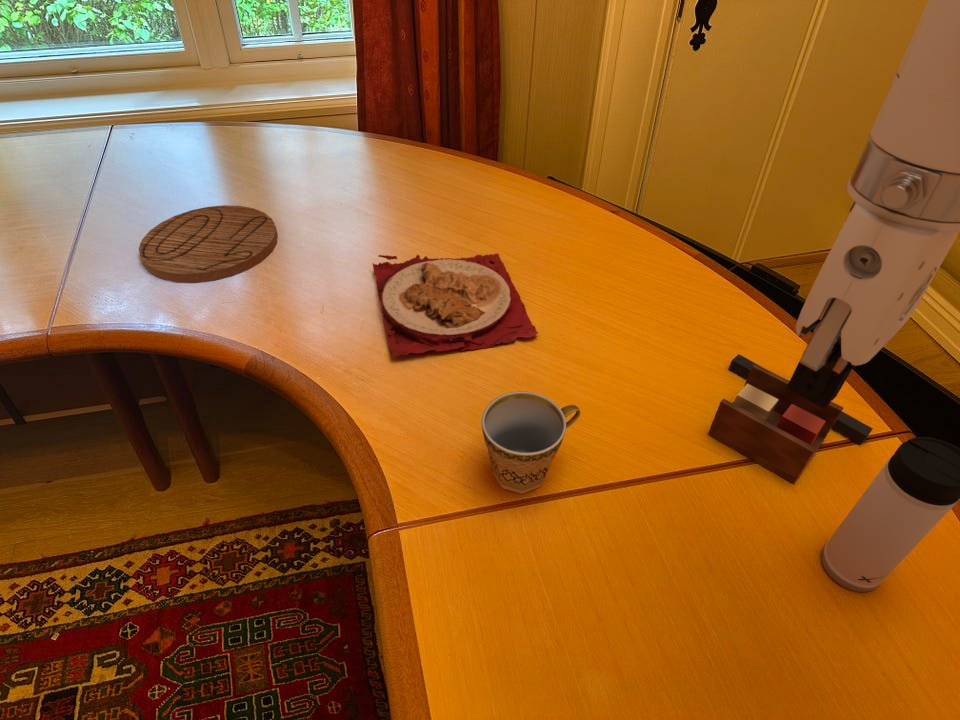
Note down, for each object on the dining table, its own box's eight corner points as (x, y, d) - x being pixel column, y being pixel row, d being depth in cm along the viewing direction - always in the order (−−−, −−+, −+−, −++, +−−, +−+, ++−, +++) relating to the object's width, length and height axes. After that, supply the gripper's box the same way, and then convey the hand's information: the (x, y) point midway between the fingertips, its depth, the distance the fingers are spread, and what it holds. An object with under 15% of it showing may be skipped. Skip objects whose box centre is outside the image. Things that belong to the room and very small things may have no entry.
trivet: (298, 219, 125) (296, 211, 124) (240, 290, 107) (238, 281, 106) (187, 208, 128) (184, 200, 127) (113, 274, 110) (109, 265, 109)
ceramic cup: (502, 517, 73) (505, 466, 66) (468, 457, 80) (467, 405, 73) (593, 479, 77) (604, 428, 70) (553, 426, 84) (560, 374, 77)
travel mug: (868, 607, 65) (972, 500, 52) (809, 564, 69) (891, 453, 55) (893, 571, 68) (996, 461, 55) (835, 532, 72) (919, 419, 58)
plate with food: (391, 364, 93) (389, 348, 91) (373, 269, 111) (371, 253, 109) (538, 342, 98) (540, 326, 95) (498, 254, 116) (499, 238, 113)
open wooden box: (824, 440, 82) (844, 407, 78) (793, 484, 77) (813, 451, 72) (740, 396, 88) (755, 363, 84) (707, 434, 83) (720, 401, 78)
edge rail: (866, 438, 83) (873, 428, 81) (860, 445, 82) (866, 436, 80) (735, 363, 93) (738, 353, 92) (728, 369, 92) (731, 359, 91)
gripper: (948, 248, 30) (810, 473, 43) (1036, 161, 37) (897, 374, 50) (804, 195, 34) (717, 413, 47) (908, 126, 42) (809, 331, 54)
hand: (810, 393), depth 48 cm, fingers closed
